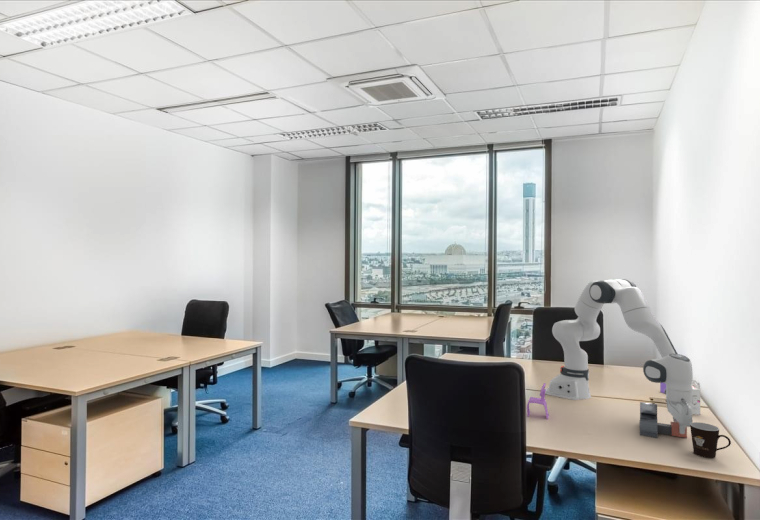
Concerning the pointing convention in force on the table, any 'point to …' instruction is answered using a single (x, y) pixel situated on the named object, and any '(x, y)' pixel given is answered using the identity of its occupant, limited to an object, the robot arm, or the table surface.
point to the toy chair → (539, 401)
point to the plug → (670, 429)
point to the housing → (648, 420)
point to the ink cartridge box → (695, 398)
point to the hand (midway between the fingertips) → (679, 430)
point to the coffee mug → (705, 439)
